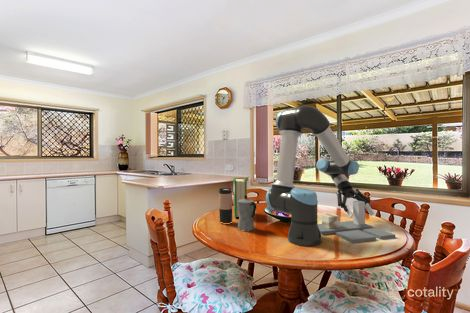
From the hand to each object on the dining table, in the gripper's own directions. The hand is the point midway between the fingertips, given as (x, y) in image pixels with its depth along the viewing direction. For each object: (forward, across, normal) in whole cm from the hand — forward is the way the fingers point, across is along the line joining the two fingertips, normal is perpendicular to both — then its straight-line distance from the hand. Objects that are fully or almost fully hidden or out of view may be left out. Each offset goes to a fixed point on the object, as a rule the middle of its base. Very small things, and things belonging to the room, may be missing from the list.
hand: (362, 215), depth 132 cm
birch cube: (+2, +18, -5) cm, 19 cm away
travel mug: (-18, +67, -28) cm, 75 cm away
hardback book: (-29, +54, -38) cm, 72 cm away
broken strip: (+13, +9, +4) cm, 16 cm away
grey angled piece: (+3, +12, -6) cm, 14 cm away
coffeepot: (-7, +59, -16) cm, 62 cm away
